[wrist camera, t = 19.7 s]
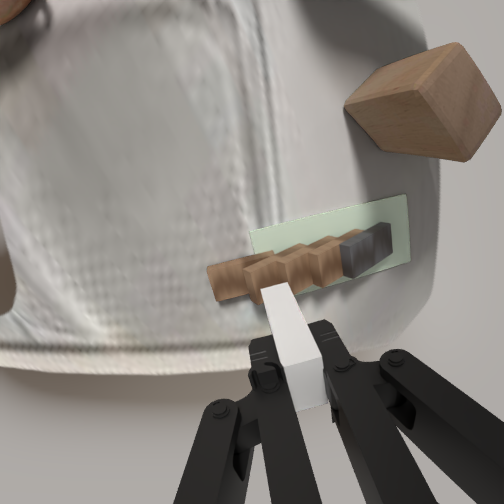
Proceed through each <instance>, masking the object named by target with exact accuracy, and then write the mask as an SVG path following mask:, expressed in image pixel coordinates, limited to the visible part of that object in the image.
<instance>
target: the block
mask: <svg viewBox="0 0 504 504" xmlns="http://www.w3.org/2000/svg"><path fill="white" fill-rule="evenodd" d="M344 108H345V110H346V111H347V112H348V113H349V114H350V115H351V116H352V117H353V118H354V119H355V120H356V122H357V123H358V124H359V125H360V126H361V127H362V128H363V129H364V130H365V131H366V133H367V134H368V135H369V136H370V137H371V138H372V139H373V140H374V142H375V143H376V144H377V145H378V146H379V147H380V149H381V150H383V151H385V152H394V153H402V154H411V155H418V156H426V157H433V158H439V159H446V160H452V161H458V162H467V161H468V160H470V159H471V158H472V157H473V155H474V154H475V152H476V151H477V150H478V148H479V147H480V145H481V144H482V142H483V141H484V139H485V138H486V137H487V135H488V134H489V132H490V131H491V129H492V128H493V126H494V125H495V123H496V121H497V120H498V118H499V117H500V115H501V112H502V109H501V105H500V103H499V102H498V100H497V98H496V96H495V95H494V93H493V91H492V90H491V88H490V86H489V85H488V83H487V81H486V80H485V78H484V77H483V75H482V73H481V72H480V70H479V69H478V67H477V66H476V64H475V63H474V61H473V60H472V58H471V57H470V55H469V54H468V53H467V51H466V50H465V48H464V47H463V46H462V45H460V44H459V43H457V42H454V43H449V44H446V45H443V46H440V47H437V48H434V49H431V50H428V51H425V52H422V53H419V54H416V55H413V56H410V57H407V58H405V59H402V60H399V61H397V62H394V63H391V64H389V65H386V66H383V67H381V68H378V69H377V70H376V71H375V72H374V73H373V74H372V75H371V76H370V77H369V78H368V79H367V80H366V81H365V82H364V83H363V84H362V85H361V86H360V87H359V88H358V89H357V90H356V91H355V92H354V93H353V94H352V95H351V96H350V97H349V98H348V99H347V100H346V101H345V104H344Z"/></svg>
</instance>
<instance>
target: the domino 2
mask: <svg viewBox="0 0 504 504" xmlns="http://www.w3.org/2000/svg"><path fill="white" fill-rule="evenodd" d="M336 238H338V237H333V236H329V235H328V236H326V237H324V238H322V239H320V240H318V241H316V242H314V243H311V244H309V245H307V246H305V247H303V248H301V249H299V250H297V251H295V252H293V253H291V254H289V255H286V256H284V257H282V258H280V259H278V260H276V264H277V268H278V273H279V277H280V282H281V284H282V283H286V282H288V285H289V287H290V289H291V291H292V293H293V295H295V294H297V293H299V292H301V291H302V290H304V289H306V288H308V287H310V286H311V285H313V279H312V273H311V268H310V262H309V257H308V252H310V251H312V250H314V249H316V248H318V247H320V246H322V245H324V244H326V243H328V242H330V241H332V240H334V239H336Z"/></svg>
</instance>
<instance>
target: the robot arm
mask: <svg viewBox="0 0 504 504" xmlns="http://www.w3.org/2000/svg"><path fill="white" fill-rule="evenodd" d="M260 290H261V294H262V298H263V301H264V305H265V309H266V313H267V317H268V321H269V325H270V329H271V333H272V335H268V336H265V337H261V338H257V339H253V340H251V343H250V345H249V354H250V360H251V369H250V370H249V373H248V377H249V379H250V383H251V386H252V391H251V392H250V393H249V394H248V395H247V396H246V397H245V398H243V399H241V400H239V401H236V402H234V401H232V400H230V399H219V400H216V401H214V402H211V403H210V404H209V405H208V406H207V407H206V409H205V410H204V412H203V415H202V419H201V422H200V425H199V428H198V431H197V434H196V437H195V440H194V443H193V446H192V449H191V452H190V455H189V458H188V461H187V464H186V467H185V470H184V473H183V476H182V479H181V482H180V485H179V488H178V491H177V494H176V497H175V500H174V503H173V504H244V503H245V497H246V492H247V487H248V481H249V476H250V470H251V465H252V459H253V452H254V446H256V445H258V444H260V443H262V449H263V455H264V461H265V467H266V473H267V479H268V485H269V491H270V497H271V503H272V504H322V501H321V498H320V495H319V491H318V487H317V484H316V481H315V477H314V474H313V470H312V467H311V463H310V460H309V456H308V453H307V449H306V446H305V443H304V439H303V435H302V432H301V429H300V425H299V421H298V418H297V414H296V412H299V411H303V410H306V409H310V408H313V407H317V406H320V405H324V404H327V403H328V399H329V402H330V405H331V413H332V422H333V423H334V422H335V423H336V425H337V428H338V431H339V433H340V436H341V438H342V441H343V443H344V446H345V449H346V451H347V454H348V456H349V459H350V462H351V464H352V467H353V469H354V472H355V474H356V477H357V480H358V482H359V485H360V488H361V490H362V493H363V496H364V498H365V501H366V504H439V503H438V502H437V501H436V499H435V497H434V496H433V494H432V492H431V490H430V488H429V486H428V484H427V482H426V480H425V478H424V477H423V475H422V473H421V471H420V469H419V467H418V465H417V463H416V462H415V460H414V458H413V456H412V454H411V453H410V451H409V449H408V447H407V445H406V443H405V441H404V440H403V438H402V436H401V434H400V432H399V430H398V429H397V427H398V428H399V429H400V430H401V431H402V432H403V433H404V434H405V435H406V436H407V437H408V438H409V439H410V440H411V441H412V442H413V443H414V444H415V445H416V446H417V447H418V448H419V449H420V450H421V451H422V452H423V453H424V454H425V455H426V456H427V457H428V458H430V459H431V460H432V461H433V462H434V463H435V464H436V465H437V466H438V467H439V468H440V469H441V470H442V471H443V472H444V473H445V474H446V475H447V476H448V477H449V478H450V479H451V480H453V481H454V482H455V483H456V484H457V485H458V486H459V487H460V488H461V489H462V490H463V491H464V492H465V493H466V494H467V495H468V496H469V497H470V498H472V499H473V500H474V501H475V502H476V503H477V504H504V422H503V421H501V420H500V419H498V418H497V417H496V416H495V415H493V414H492V413H491V412H489V411H488V410H487V409H485V408H484V407H482V406H481V405H480V404H478V403H477V402H476V401H474V400H473V399H472V398H470V397H469V396H468V395H466V394H465V393H464V392H462V391H461V390H460V389H458V388H456V387H455V386H454V385H453V384H451V383H450V382H449V381H447V380H446V379H444V378H443V377H442V376H440V375H439V374H438V373H436V372H435V371H434V370H432V369H431V368H430V367H428V366H427V365H425V364H424V363H423V362H421V361H420V360H419V359H417V358H416V357H414V356H413V355H412V354H410V353H409V352H407V351H405V350H402V349H393V350H389V351H387V352H385V353H384V354H383V355H382V356H381V358H380V361H374V362H361V361H358V360H357V359H356V358H355V357H353V356H351V355H350V354H349V352H348V350H347V349H346V347H345V345H344V344H343V342H342V340H341V338H340V337H339V335H338V333H337V332H336V330H335V328H334V326H333V325H332V323H330V322H328V321H326V320H325V319H324V320H320V321H317V322H313V323H310V324H307V323H306V321H305V319H304V316H303V314H302V312H301V310H300V308H299V306H298V304H297V301H296V299H295V297H294V295H293V293H292V291H291V289H290V287H289V285H288V282H286V283H282V284H278V285H274V286H271V287H267V288H263V289H260ZM327 397H328V398H327ZM396 426H397V427H396Z"/></svg>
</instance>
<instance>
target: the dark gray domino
mask: <svg viewBox="0 0 504 504" xmlns="http://www.w3.org/2000/svg"><path fill="white" fill-rule="evenodd" d="M339 247H340V255H341V262H342V269H343V276H345V277H348V278H351V279H355V278H356V277H358V276H359V275H361V274H362V273H364V272H365V271H367V270H368V269H370V268H371V267H373V266H374V265H376V264H377V263H379V262H380V261H382V260H383V259H385V258H386V257H388V256H389V255H391V254H392V253H393V247H392V234H391V223H385V222H379V223H378V224H376V225H374V226H372V227H370V228H368V229H366V230H365V231H363V232H361V233H359V234H357V235H355V236H353V237H352V238H350V239H348V240H346V241H344V242H342V243H340V244H339Z"/></svg>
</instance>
